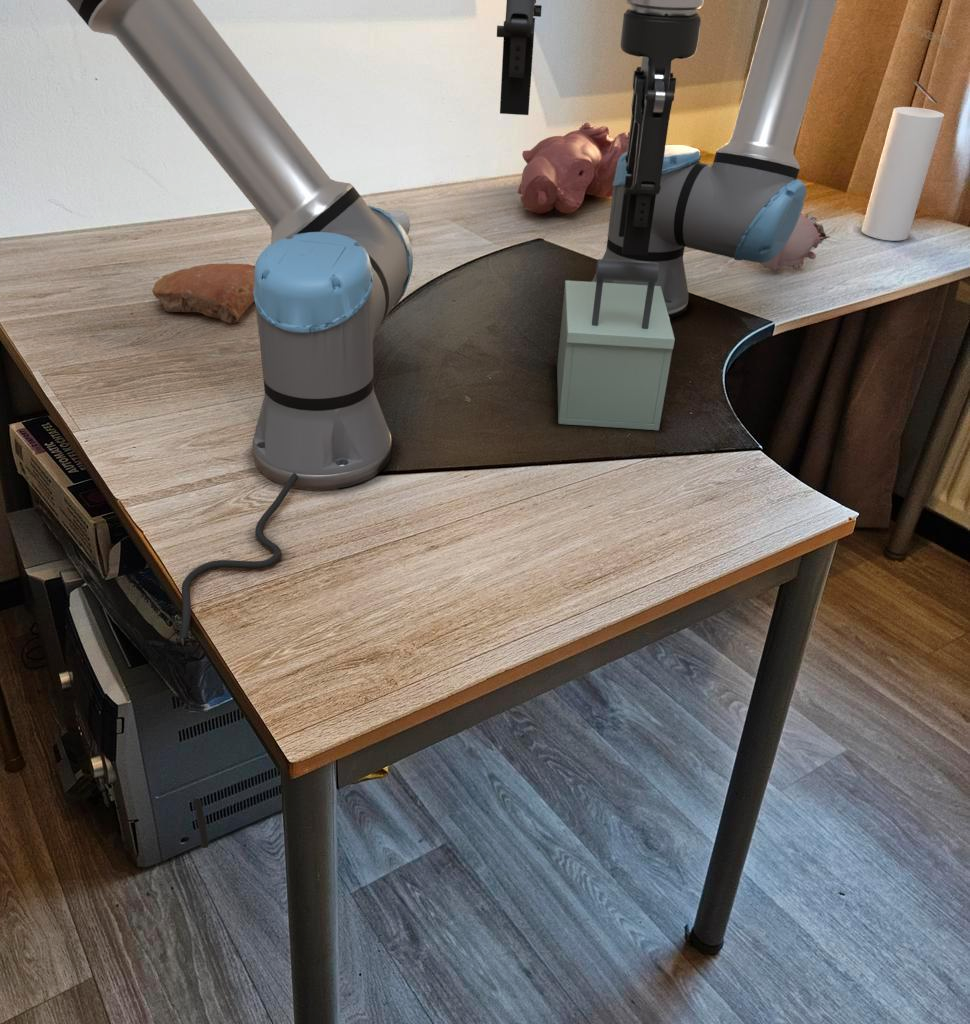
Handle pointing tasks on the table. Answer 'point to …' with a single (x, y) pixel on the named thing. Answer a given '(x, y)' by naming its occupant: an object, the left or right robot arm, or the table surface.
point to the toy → (799, 244)
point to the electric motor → (401, 218)
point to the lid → (618, 307)
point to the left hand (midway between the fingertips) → (516, 99)
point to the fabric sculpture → (571, 169)
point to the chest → (610, 384)
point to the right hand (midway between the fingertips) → (632, 244)
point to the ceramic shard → (208, 290)
